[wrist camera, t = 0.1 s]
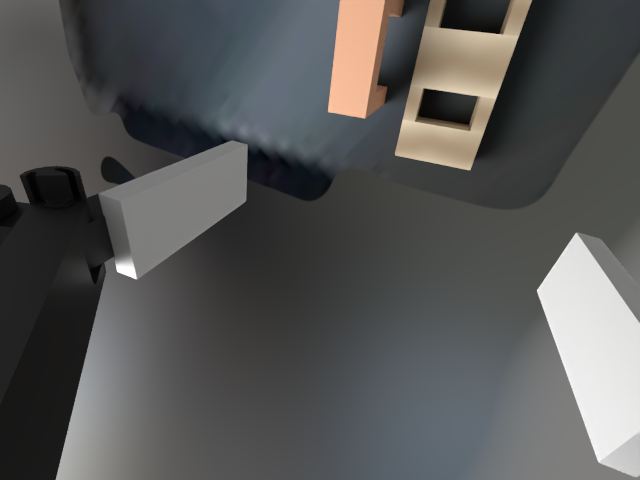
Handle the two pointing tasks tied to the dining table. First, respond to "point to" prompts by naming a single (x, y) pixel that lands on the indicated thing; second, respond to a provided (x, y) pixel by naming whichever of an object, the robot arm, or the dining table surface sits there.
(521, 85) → the dining table surface
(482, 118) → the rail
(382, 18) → the clip
